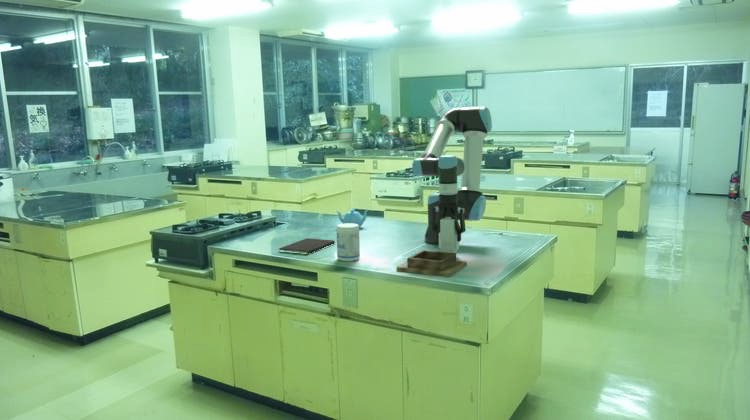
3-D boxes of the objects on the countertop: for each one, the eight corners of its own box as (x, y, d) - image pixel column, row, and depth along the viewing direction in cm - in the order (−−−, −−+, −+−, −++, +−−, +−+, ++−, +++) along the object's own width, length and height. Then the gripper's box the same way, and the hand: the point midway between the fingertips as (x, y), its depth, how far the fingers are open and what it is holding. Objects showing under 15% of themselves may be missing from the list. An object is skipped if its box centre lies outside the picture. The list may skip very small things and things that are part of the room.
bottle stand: (396, 270, 209) (396, 258, 208) (416, 259, 224) (416, 248, 224) (449, 277, 198) (449, 264, 197) (467, 265, 213) (467, 253, 213)
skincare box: (454, 256, 221) (454, 220, 218) (439, 254, 223) (439, 219, 220) (457, 250, 229) (458, 216, 226) (443, 249, 231) (443, 215, 228)
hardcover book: (278, 253, 246) (278, 248, 245) (307, 242, 266) (307, 238, 266) (308, 256, 238) (307, 251, 238) (335, 245, 259) (334, 240, 258)
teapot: (369, 227, 296) (369, 209, 295) (351, 231, 288) (350, 212, 286) (354, 224, 306) (353, 207, 304) (336, 228, 297) (335, 210, 295)
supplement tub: (332, 259, 229) (331, 225, 226) (348, 255, 236) (346, 222, 233) (349, 263, 222) (348, 228, 220) (364, 258, 230) (363, 224, 227)
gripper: (422, 193, 223) (423, 248, 227) (467, 195, 213) (468, 252, 217) (430, 191, 229) (431, 244, 233) (474, 193, 220) (474, 248, 224)
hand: (448, 247), depth 225 cm, fingers closed on skincare box, 6 cm apart
